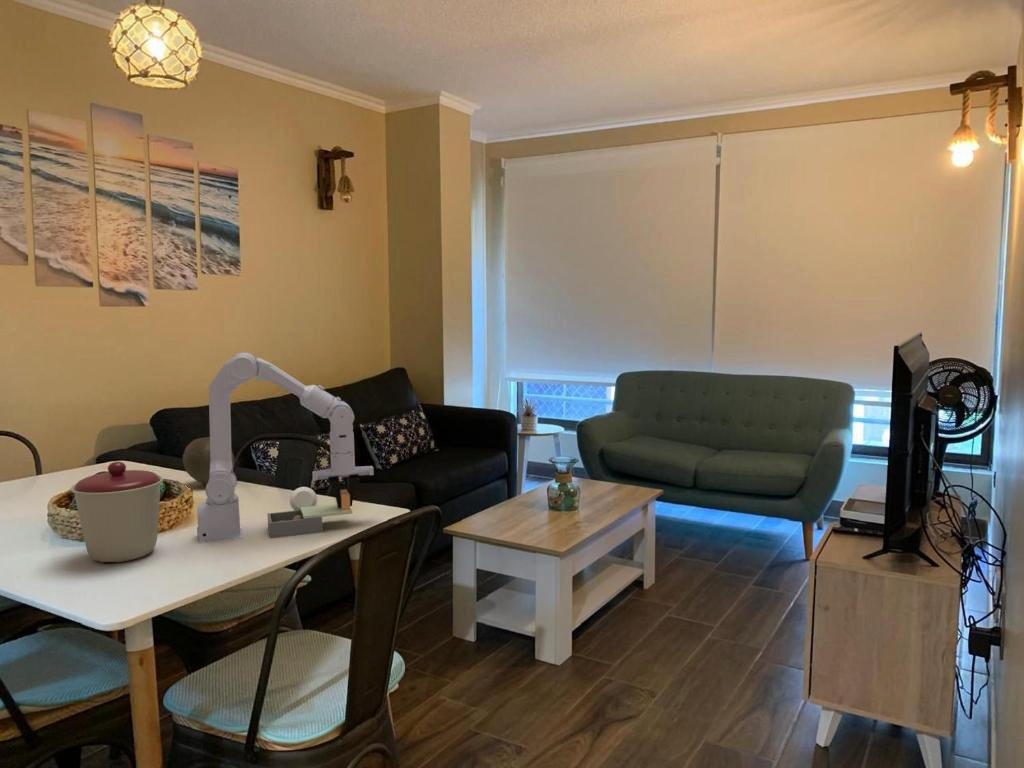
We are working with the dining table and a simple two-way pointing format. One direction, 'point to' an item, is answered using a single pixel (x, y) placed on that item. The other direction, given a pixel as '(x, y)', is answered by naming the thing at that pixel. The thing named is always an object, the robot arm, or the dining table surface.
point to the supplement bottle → (303, 498)
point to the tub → (292, 524)
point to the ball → (298, 517)
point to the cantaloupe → (199, 459)
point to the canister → (119, 513)
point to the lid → (329, 508)
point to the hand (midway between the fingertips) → (344, 505)
